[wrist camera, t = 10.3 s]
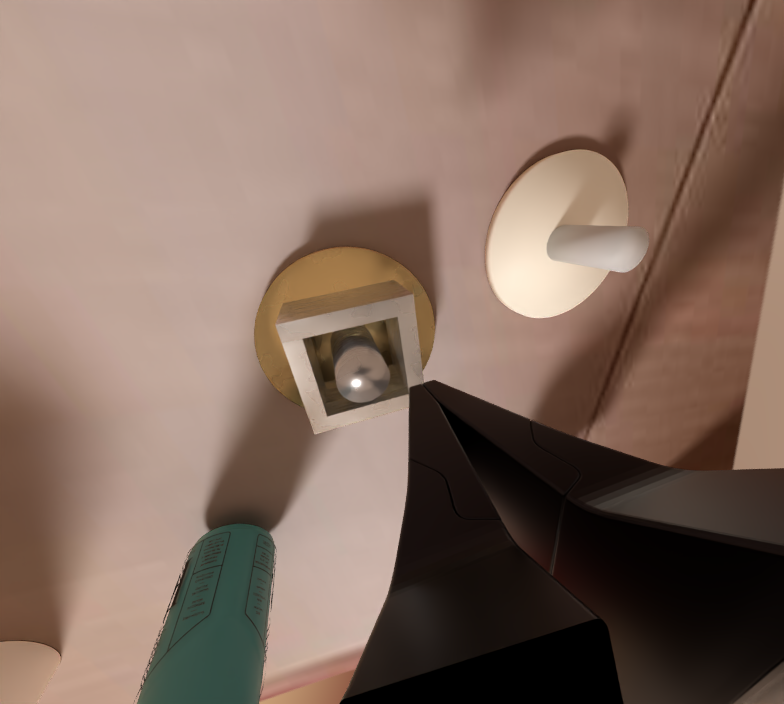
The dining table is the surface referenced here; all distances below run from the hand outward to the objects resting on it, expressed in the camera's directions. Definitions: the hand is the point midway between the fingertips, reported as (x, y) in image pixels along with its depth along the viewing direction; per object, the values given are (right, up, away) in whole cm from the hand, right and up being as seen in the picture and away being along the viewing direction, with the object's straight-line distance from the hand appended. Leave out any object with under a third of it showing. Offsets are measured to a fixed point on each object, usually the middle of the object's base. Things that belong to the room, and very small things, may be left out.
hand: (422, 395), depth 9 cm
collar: (-4, +2, +10) cm, 11 cm away
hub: (-4, +2, +11) cm, 12 cm away
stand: (+11, +9, +12) cm, 19 cm away
